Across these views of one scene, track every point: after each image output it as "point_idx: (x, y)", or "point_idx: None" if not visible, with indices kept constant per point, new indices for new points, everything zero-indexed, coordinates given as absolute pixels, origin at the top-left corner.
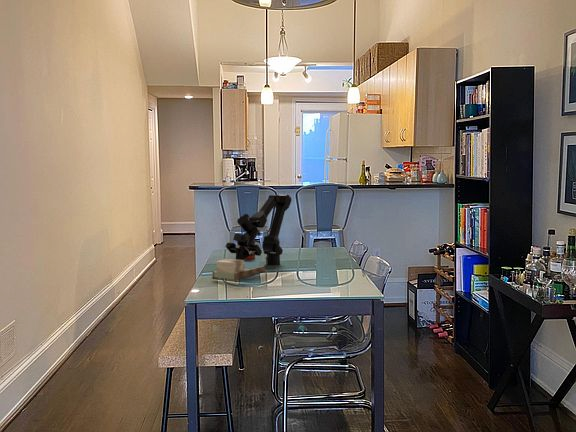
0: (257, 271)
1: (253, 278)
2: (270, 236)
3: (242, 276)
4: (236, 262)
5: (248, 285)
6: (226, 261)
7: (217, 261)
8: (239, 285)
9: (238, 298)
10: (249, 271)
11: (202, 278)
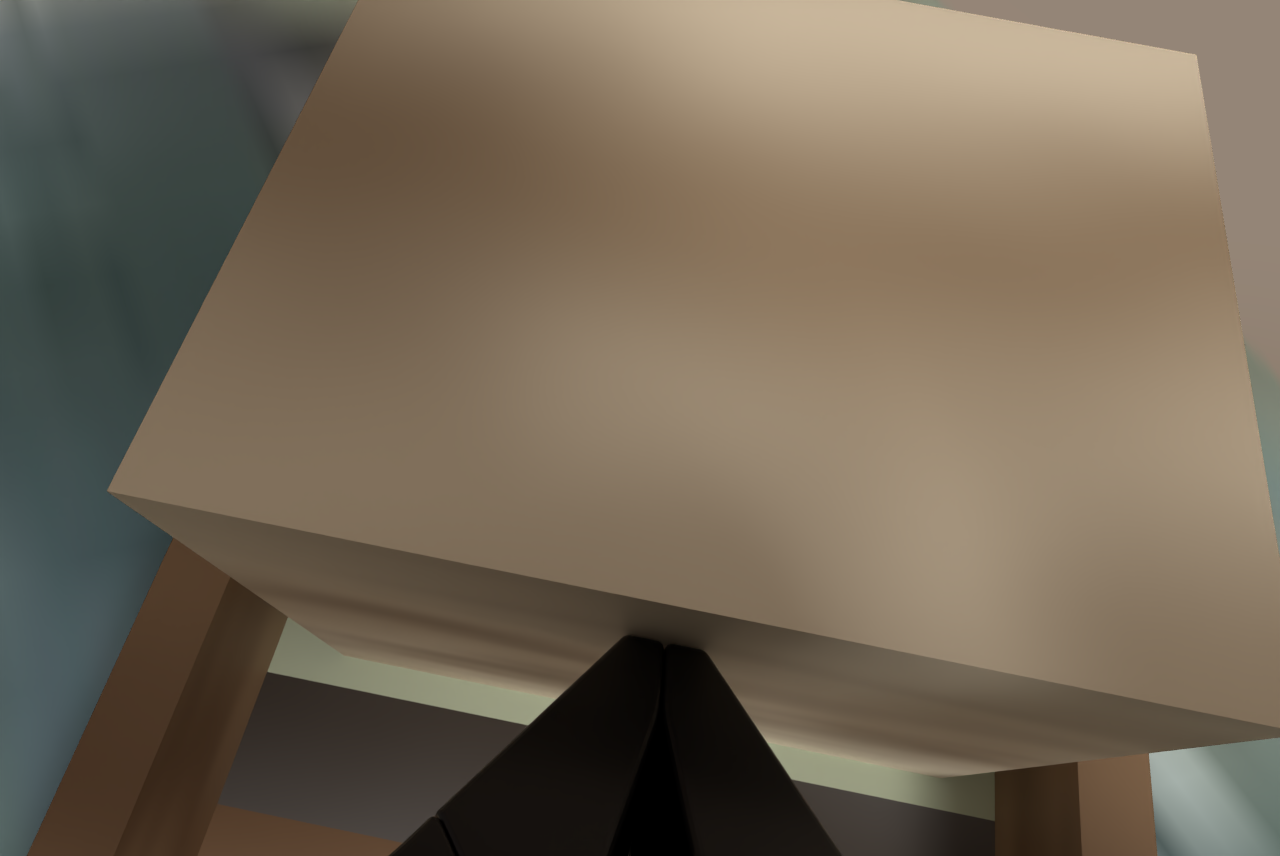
0: None
1: (77, 659)
2: None
3: None
4: (339, 57)
5: (58, 74)
6: (794, 63)
7: (1145, 53)
8: (232, 50)
9: None
10: (123, 698)
11: (1250, 363)
